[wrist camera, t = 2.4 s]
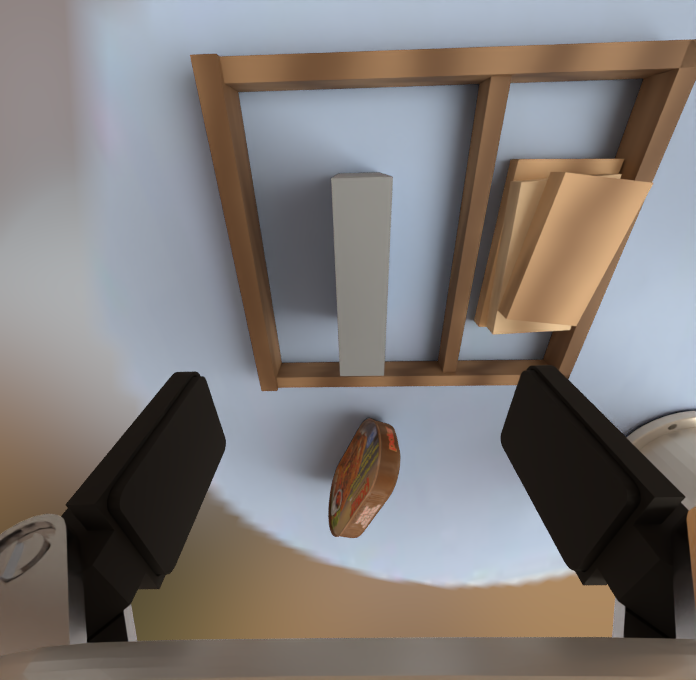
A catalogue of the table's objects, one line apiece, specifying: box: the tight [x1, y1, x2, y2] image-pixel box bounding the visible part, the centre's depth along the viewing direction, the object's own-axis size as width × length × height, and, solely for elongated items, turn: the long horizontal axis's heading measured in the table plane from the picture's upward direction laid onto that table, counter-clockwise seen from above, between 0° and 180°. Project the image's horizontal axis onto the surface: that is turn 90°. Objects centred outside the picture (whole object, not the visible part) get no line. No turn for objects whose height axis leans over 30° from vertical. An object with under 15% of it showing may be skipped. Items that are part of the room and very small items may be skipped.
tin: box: [328, 418, 400, 538], centre depth 34 cm, size 15×3×8 cm, turn 159°
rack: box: [190, 39, 696, 391], centre depth 24 cm, size 29×24×3 cm
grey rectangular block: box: [331, 172, 393, 376], centre depth 22 cm, size 3×12×9 cm, turn 1°
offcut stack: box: [474, 159, 653, 334], centre depth 23 cm, size 7×13×5 cm, turn 0°
